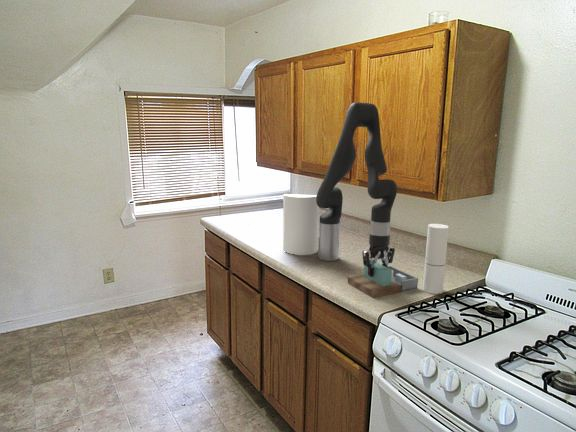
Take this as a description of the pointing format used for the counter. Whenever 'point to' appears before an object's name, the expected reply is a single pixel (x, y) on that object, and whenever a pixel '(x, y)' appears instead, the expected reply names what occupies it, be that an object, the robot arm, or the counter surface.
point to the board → (373, 286)
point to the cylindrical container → (435, 258)
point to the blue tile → (399, 278)
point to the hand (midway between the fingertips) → (377, 275)
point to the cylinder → (300, 224)
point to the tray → (406, 284)
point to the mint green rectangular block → (380, 274)
